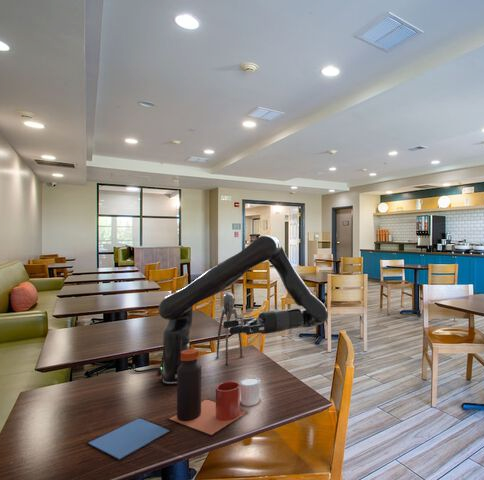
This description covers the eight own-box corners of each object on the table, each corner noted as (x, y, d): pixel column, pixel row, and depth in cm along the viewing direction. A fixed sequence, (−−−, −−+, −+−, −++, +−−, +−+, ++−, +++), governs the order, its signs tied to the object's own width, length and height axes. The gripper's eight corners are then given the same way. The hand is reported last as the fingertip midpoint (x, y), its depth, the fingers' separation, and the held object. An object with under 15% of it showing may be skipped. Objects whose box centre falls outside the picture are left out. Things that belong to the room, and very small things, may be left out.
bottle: (205, 413, 108) (206, 350, 108) (186, 424, 102) (187, 356, 102) (191, 408, 111) (191, 346, 111) (172, 417, 105) (172, 352, 105)
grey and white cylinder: (254, 408, 112) (255, 386, 112) (235, 405, 114) (235, 384, 113) (263, 398, 119) (264, 378, 119) (245, 396, 120) (245, 376, 120)
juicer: (242, 356, 159) (242, 291, 158) (226, 365, 148) (227, 295, 148) (224, 354, 162) (225, 290, 162) (208, 362, 152) (208, 294, 151)
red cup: (210, 417, 106) (210, 388, 106) (227, 407, 112) (228, 379, 112) (227, 423, 103) (227, 393, 102) (244, 412, 109) (244, 384, 109)
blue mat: (88, 443, 92) (88, 442, 92) (139, 419, 105) (139, 418, 105) (119, 459, 86) (119, 458, 86) (170, 431, 98) (170, 430, 98)
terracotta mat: (168, 419, 105) (168, 418, 105) (206, 400, 117) (206, 399, 117) (211, 435, 97) (211, 434, 97) (246, 413, 109) (246, 412, 109)
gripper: (267, 307, 127) (221, 312, 118) (281, 314, 115) (232, 321, 106) (267, 327, 127) (221, 334, 118) (281, 337, 115) (232, 345, 106)
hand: (226, 327), depth 112 cm, fingers open, 8 cm apart
